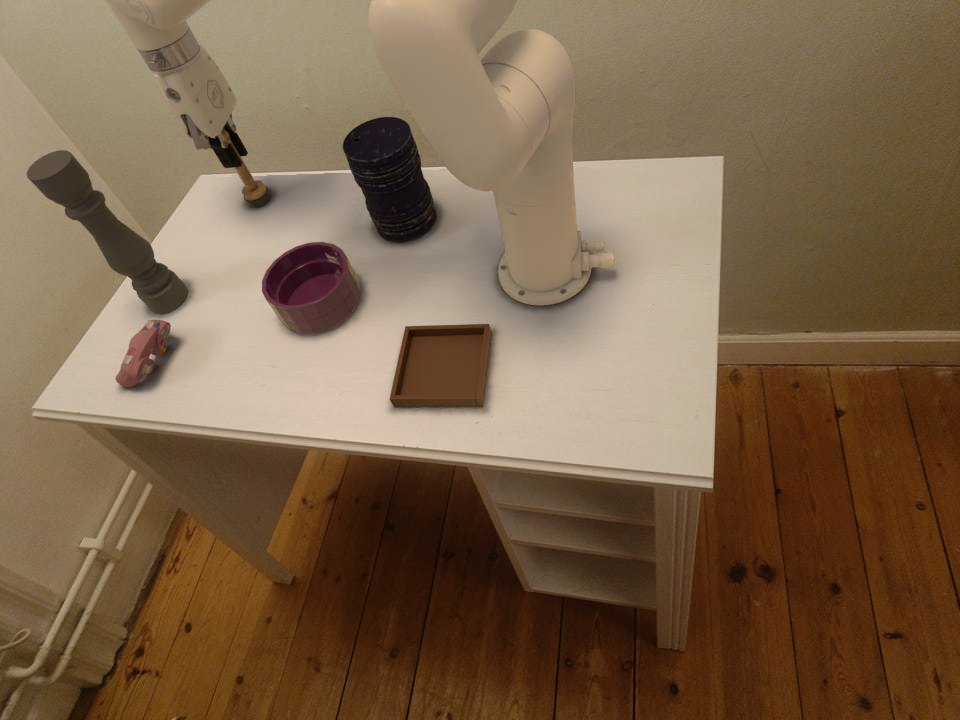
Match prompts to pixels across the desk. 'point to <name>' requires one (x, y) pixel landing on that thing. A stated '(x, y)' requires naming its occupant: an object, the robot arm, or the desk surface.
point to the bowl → (311, 287)
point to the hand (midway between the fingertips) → (236, 160)
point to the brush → (250, 182)
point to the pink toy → (143, 352)
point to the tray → (442, 367)
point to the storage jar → (391, 178)
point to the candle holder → (107, 230)
